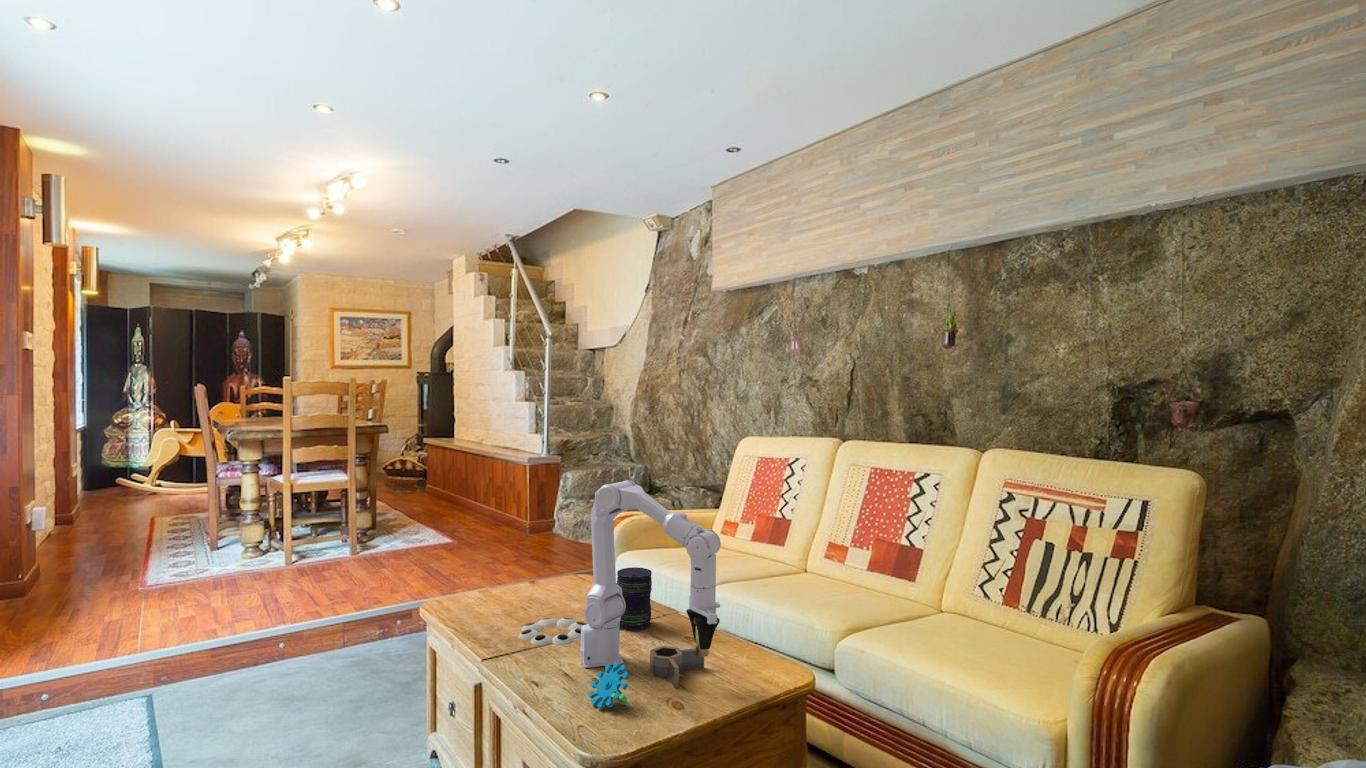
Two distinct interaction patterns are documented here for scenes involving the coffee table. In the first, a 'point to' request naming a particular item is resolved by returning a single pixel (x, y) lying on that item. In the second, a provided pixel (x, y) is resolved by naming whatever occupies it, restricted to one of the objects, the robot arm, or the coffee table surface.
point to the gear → (610, 686)
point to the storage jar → (635, 598)
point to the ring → (550, 622)
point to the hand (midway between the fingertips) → (702, 645)
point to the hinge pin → (697, 650)
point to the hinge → (673, 662)
